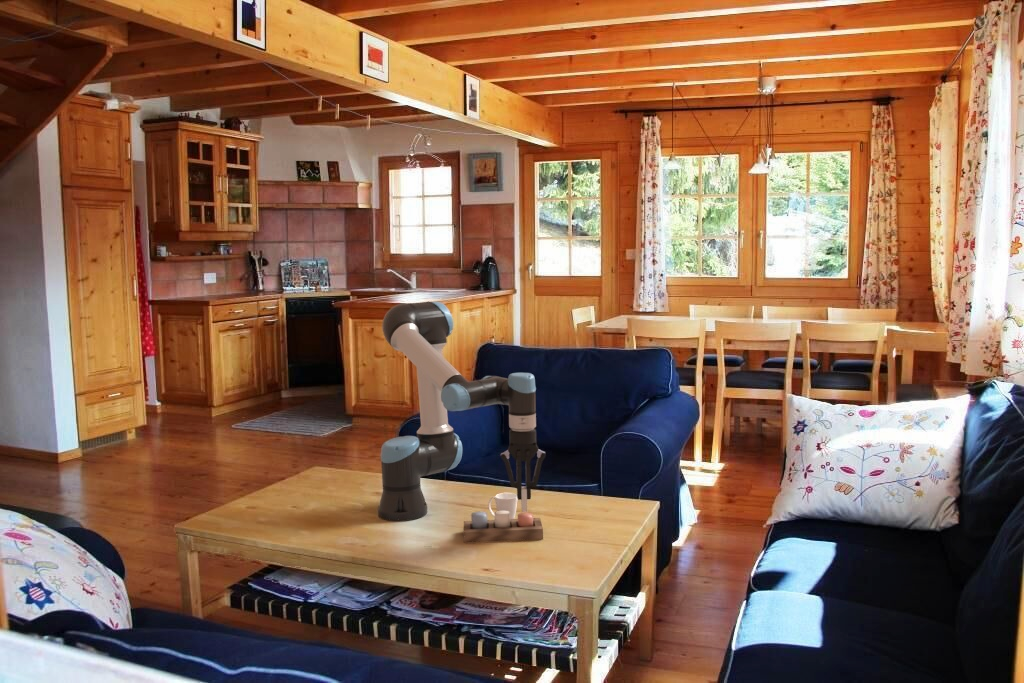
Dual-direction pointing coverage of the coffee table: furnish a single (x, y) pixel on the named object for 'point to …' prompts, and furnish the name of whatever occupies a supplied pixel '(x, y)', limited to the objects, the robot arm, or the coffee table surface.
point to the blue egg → (479, 520)
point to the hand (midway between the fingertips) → (524, 510)
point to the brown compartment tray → (503, 532)
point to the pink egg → (525, 520)
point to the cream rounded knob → (502, 519)
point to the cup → (505, 503)
